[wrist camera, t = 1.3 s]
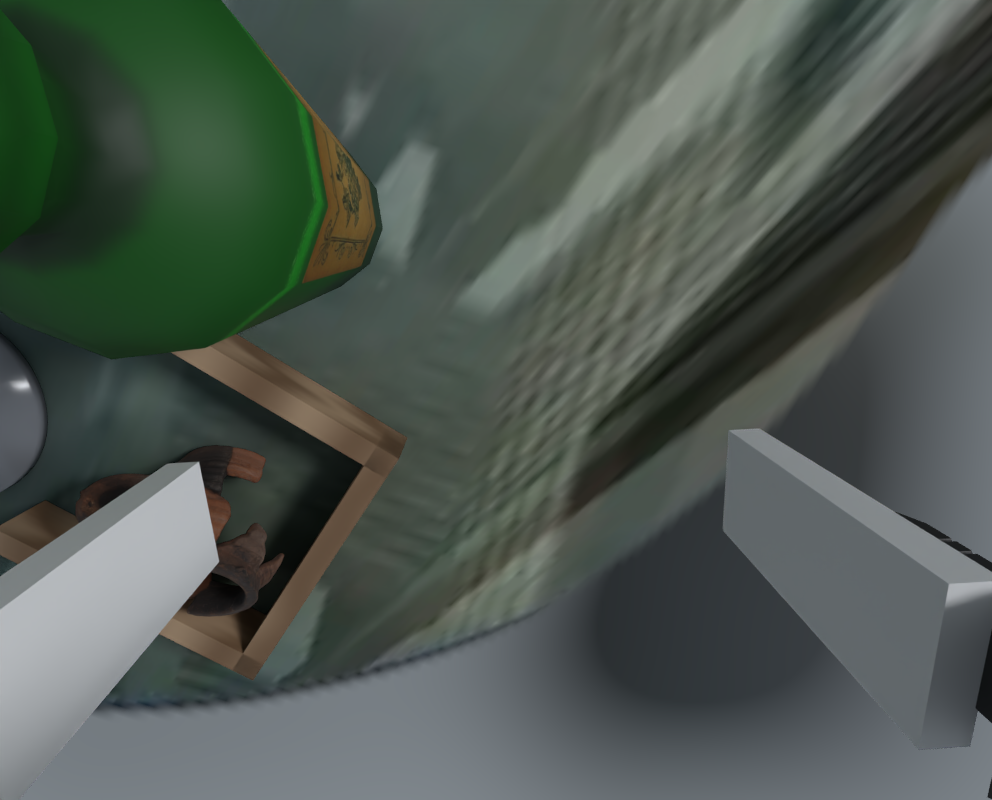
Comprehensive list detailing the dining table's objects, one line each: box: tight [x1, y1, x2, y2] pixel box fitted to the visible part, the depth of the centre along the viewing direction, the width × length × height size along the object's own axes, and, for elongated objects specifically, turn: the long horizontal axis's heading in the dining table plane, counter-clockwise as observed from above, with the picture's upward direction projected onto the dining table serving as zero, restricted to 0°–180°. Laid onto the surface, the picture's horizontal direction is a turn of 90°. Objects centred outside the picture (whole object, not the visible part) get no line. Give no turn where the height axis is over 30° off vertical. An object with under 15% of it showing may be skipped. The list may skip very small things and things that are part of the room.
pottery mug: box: [75, 445, 284, 617], centre depth 35 cm, size 12×9×8 cm
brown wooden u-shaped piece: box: [0, 334, 407, 680], centre depth 35 cm, size 18×18×4 cm
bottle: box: [0, 0, 383, 359], centre depth 19 cm, size 11×11×28 cm
